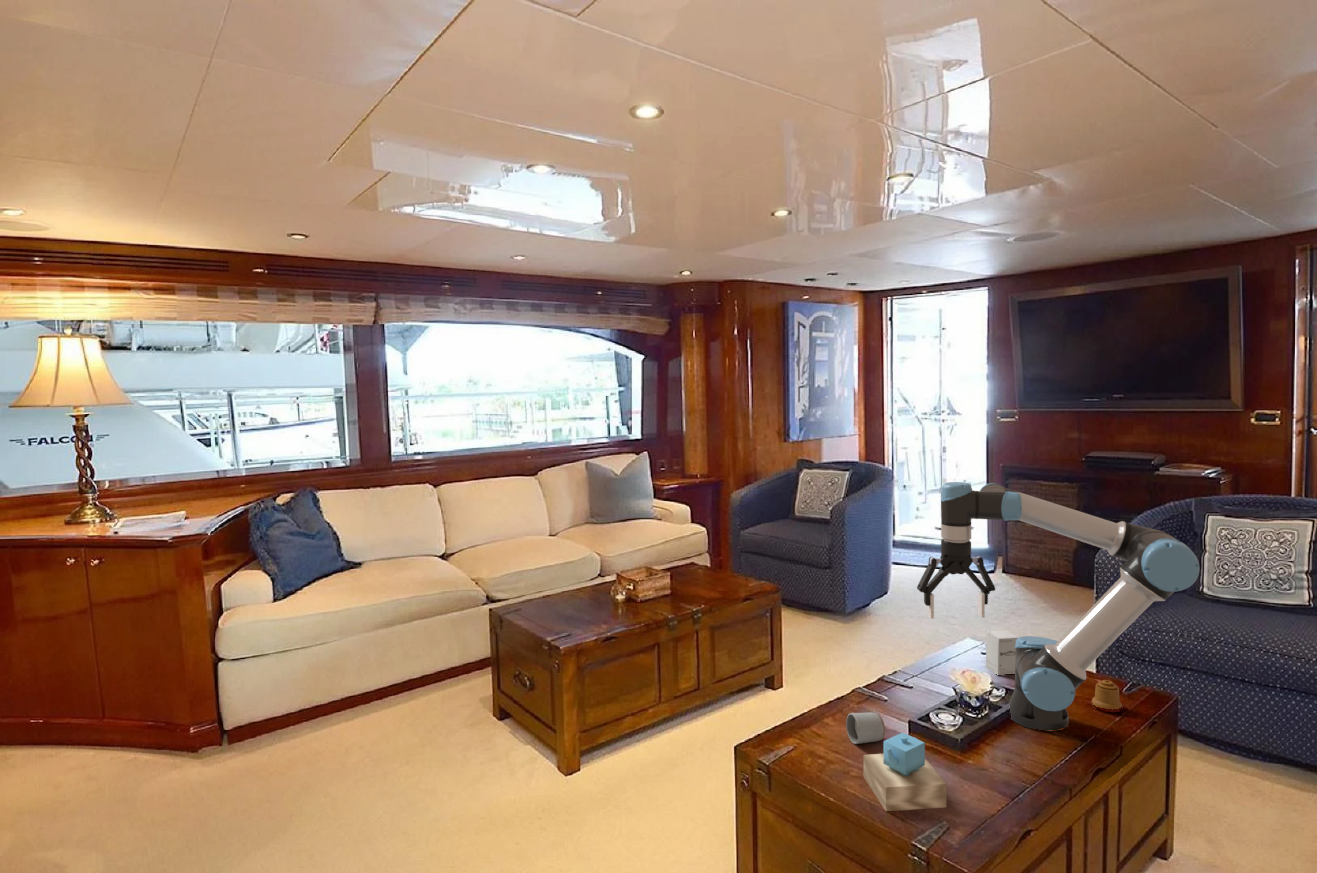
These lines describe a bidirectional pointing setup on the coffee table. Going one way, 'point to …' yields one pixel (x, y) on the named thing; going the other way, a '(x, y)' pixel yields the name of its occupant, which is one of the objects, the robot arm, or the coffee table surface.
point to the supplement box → (1000, 652)
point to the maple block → (904, 785)
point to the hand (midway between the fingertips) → (955, 616)
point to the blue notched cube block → (904, 753)
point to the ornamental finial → (1106, 695)
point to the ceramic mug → (865, 727)
